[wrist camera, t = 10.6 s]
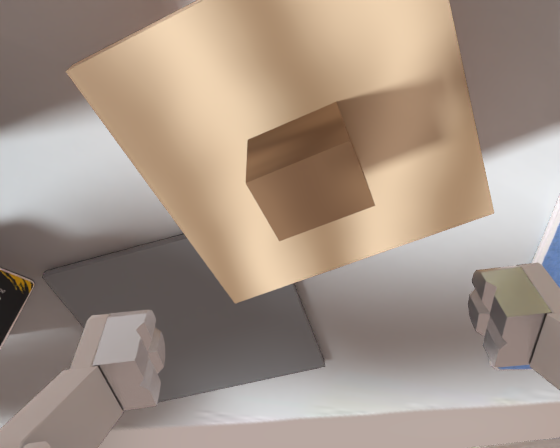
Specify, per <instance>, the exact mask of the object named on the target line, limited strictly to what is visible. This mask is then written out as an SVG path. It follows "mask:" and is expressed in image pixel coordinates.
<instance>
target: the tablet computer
mask: <svg viewBox="0 0 560 448" xmlns="http://www.w3.org/2000/svg"><path fill="white" fill-rule="evenodd" d="M537 262H538V263H539V264H541V265H542V266H543V267H544V268H545V270H546V271H547V272H548V273H549V275H550V276H551V277H552V279H553V280H554V281H555V283H556V284H557V285H558V287H559V288H560V194H559V196H558V199H557V201H556V204H555V206H554V209H553V211H552V214H551V217H550V219H549V222H548V224H547V227H546V229H545V232H544V234H543V237H542V239H541V241H540V244H539V246H538V248H537V251H536V253H535V256H534V258H533V260H532V263H537ZM489 363H490V365H491V366H492V367H493V365H492V363H491V361H490V360H489ZM493 368H494V367H493ZM494 369H496V370H525V369H532V368H531V367H530V365H521V366H509V367H498V368H494Z"/></svg>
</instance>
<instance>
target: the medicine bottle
mask: <svg viewBox="0 0 560 448" xmlns="http://www.w3.org/2000/svg"><path fill="white" fill-rule="evenodd" d="M33 288H34V282H33V281H32V280H30V279H28V278H25V277H23V276H20V275H17V274H15V273H12V272H10V271H7V270H5V269H2V268H0V350H1V348H2V346H3V344H4V343H5V341H6V339H7V337H8V335H9V333H10V331H11V329H12V328H13V326H14V324H15V322H16V320H17V318H18V316H19V314H20V312H21V310H22V309H23V307H24V305H25V303H26V301H27V299H28V297H29V295H30V293H31V291H32V290H33Z"/></svg>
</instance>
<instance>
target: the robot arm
mask: <svg viewBox="0 0 560 448" xmlns="http://www.w3.org/2000/svg"><path fill="white" fill-rule="evenodd" d="M472 283H473V285H474V287H475V290H474V291H473V292H472V293H471V294H470V295H469V301H468V308H469V315H470V319H471V322H472V324H473V326H474V328H475V331H476V332H478V333H479V334H481V335H482V336H484V337H485V338H484V343H483V347H484V349H485V351H486V353H487V355H488V357H489V359H490V361H491V363H492V365H493V367H494V368H498V367H509V366H521V365H530V367H531V368H532V369H533V370H535V371H536V372H537V373H538V374H540V375H541V376H542V377H543V378H545V379H546V380H547V381H548V382H550V383H551V384H552V385H553V386H555V387H556V388H557V389H559V390H560V288H559V287H558V285H557V284H556V283H555V281H554V280H553V279H552V277H551V276H550V275H549V273H548V272H547V271H546V270H545V268H544V267H543V266H542V265H541V264H539V263H538V262H537V263H529V264H522V265H516V266H506V267H498V268H491V269H483V270H476V271H475V273H474V274H473V278H472ZM155 323H156V318H155V315H154V313H153V311H152V310H140V311H129V312H118V313H111V314H101V315H92V316H91V317H90V318H89V319H88V320H87V322H86V325H85V328H84V331H83V333H82V336H81V339H80V341H79V344H78V347H77V350H76V352H75V355H74V358H73V360H72V363H71V366H70V369H67V370H63V371H62V372H61V373H60V374H59V375H58V376H57V377H55V378H54V379H53V380H52V381H51V382H50V383H49V384H48V385H47V386H46V387H45V388H44V389H43V390H42V391H40V392H39V393H38V394H37V395H36V396H35V397H34V398H33V399H32V400H31V401H30V402H29V403H28V404H27V405H25V406H24V407H23V408H22V409H21V410H20V411H19V412H18V413H17V414H16V415H15V416H14V417H13V418H12V419H11V420H9V421H8V422H7V423H6V424H5V425H4V426H3V427H2V428H1V429H0V448H98V447H99V445H100V444H101V443H102V441H103V440H104V438H105V437H106V436H107V435H108V433H109V432H110V430H111V429H112V428H113V426H114V425H115V424H116V422H117V421H118V420H119V418H120V417H121V416H122V414H123V411H125V410H132V409H139V408H146V407H153V406H157V403H158V397H159V392H160V386H161V381H160V379H159V376H158V373H159V372H160V371H161V370H162V369H163V367H164V363H165V343H164V338H163V335H162V332H161V331H160V330H159V329H157V328H155ZM469 448H560V438H552V439H543V440H534V441H524V442H515V443H506V444H497V445H488V446H479V447H469Z"/></svg>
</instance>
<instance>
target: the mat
mask: <svg viewBox="0 0 560 448" xmlns="http://www.w3.org/2000/svg"><path fill="white" fill-rule="evenodd" d="M42 278H43V279H44V280H45V281H46V283H47V284H48V285H49V286H50V287H51V289H52V290H53V291H54V292H55V293H56V295H57V296H58V297H59V298H60V300H61V301H62V302H63V303H64V304H65V306H66V307H67V308H68V309H69V310H70V312H71V313H72V314H73V315H74V316H75V318H76V319H77V320H78V321H79V322H80V324H81V325H82V326H83V327H84V328H85V325H86V322H87V320H88V319H89V318H90V317H91V316H92V315H101V314H111V313H118V312H129V311H140V310H152V311H153V313H154V315H155V318H156V323H155V328H157V329H159V330H160V331H161V332H162V335H163V338H164V343H165V363H164V367H163V369H162V370H161V371H160V372H159V373H158V376H159V379H160V381H161V386H160V392H159V397H158V402H163V401H167V400H172V399H177V398H181V397H186V396H191V395H195V394H200V393H205V392H209V391H214V390H219V389H223V388H228V387H233V386H237V385H242V384H247V383H251V382H256V381H261V380H265V379H270V378H275V377H279V376H284V375H289V374H293V373H298V372H303V371H307V370H312V369H317V368H321V367H325V363H324V359H323V356H322V354H321V351H320V349H319V346H318V344H317V341H316V339H315V336H314V333H313V331H312V328H311V326H310V323H309V321H308V318H307V316H306V313H305V311H304V308H303V306H302V303H301V300H300V298H299V295H298V293H297V290H296V288H295V285H294V283H293V284H290V285H287V286H284V287H281V288H278V289H276V290H273V291H270V292H267V293H264V294H261V295H258V296H255V297H253V298H250V299H247V300H244V301H241V302H238V303H234V302H233V300H232V299H231V297H230V296H229V295H228V293H227V292H226V291H225V289H224V288H223V287H222V285H221V284H220V282H219V281H218V280H217V278H216V277H215V276H214V274H213V273H212V271H211V270H210V269H209V267H208V266H207V265H206V263H205V262H204V260H203V259H202V258H201V256H200V255H199V254H198V252H197V251H196V250H195V248H194V247H193V245H192V244H191V243H190V241H189V240H188V239H187V237H186V236H185V234H182V235H178V236H174V237H170V238H167V239H163V240H159V241H156V242H152V243H148V244H144V245H141V246H137V247H133V248H130V249H126V250H122V251H118V252H115V253H111V254H107V255H104V256H100V257H96V258H92V259H89V260H85V261H81V262H78V263H74V264H70V265H66V266H63V267H59V268H55V269H51V270H48V271H45V272H44V274H43V276H42Z"/></svg>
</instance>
